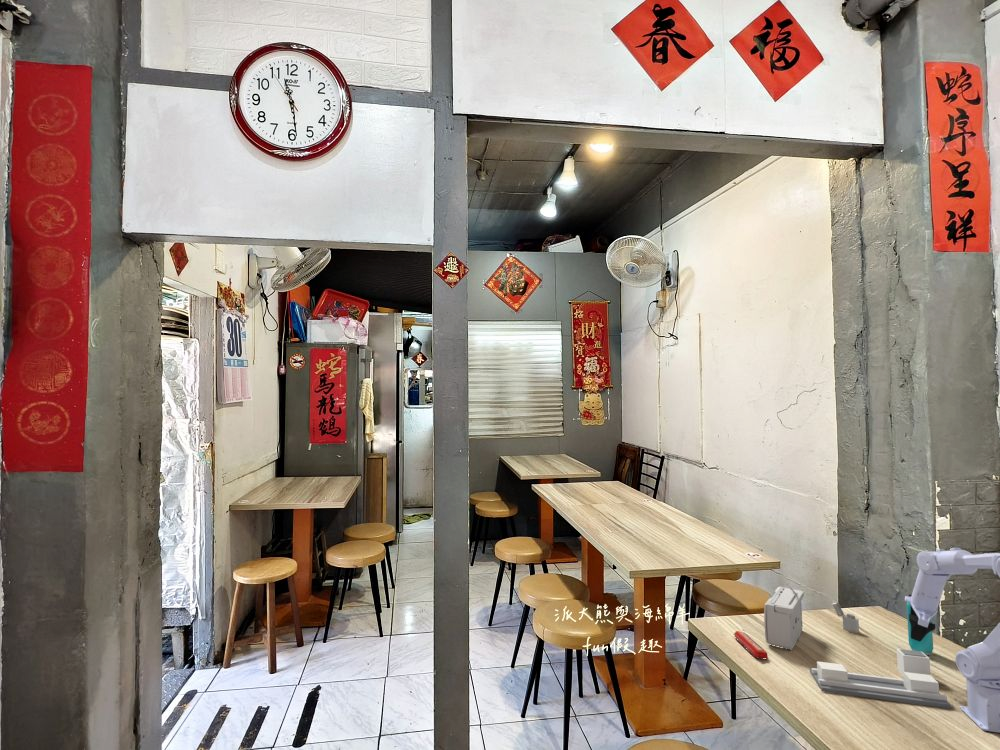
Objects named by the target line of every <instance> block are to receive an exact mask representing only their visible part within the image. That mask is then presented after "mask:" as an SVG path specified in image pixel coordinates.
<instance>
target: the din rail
mask: <svg viewBox="0 0 1000 750" xmlns="http://www.w3.org/2000/svg"><path fill="white" fill-rule="evenodd" d="M809 673H810V675H811V676H812V678H813V680H814V681H815V683H816V684H818V685H817V686H818V688H819V689H821V690H820V691H821V692H822V691H825V692H824V693H829V692H830V694H831V693H832V694H839V695H846V696H853V697H860V698H868V699H875V700H881V701H882V700H883V701H889V702H890V701H891V702H897V703H905V704H912V705H920V706H925V707H926V706H929V707H933V708H934V707H935V708H943V709H949V710H952V704H951V703H950V701H948V697H947V695H946V694H941V693H940V692H939V694H934V693H926V692H918V691H911V690H907V689H906V688H905V686H904V682H903V678H895V677H887V676H878V675H871V674H862V673H853V672H848V671H847V674H848V682H841V681H833V680H825V679H820V678H819V676H818V675H817V667H816V668H814V667H811V668H809Z"/></svg>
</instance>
